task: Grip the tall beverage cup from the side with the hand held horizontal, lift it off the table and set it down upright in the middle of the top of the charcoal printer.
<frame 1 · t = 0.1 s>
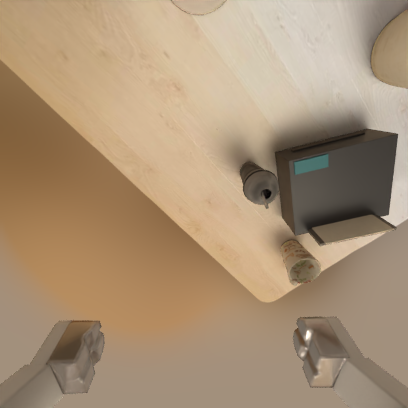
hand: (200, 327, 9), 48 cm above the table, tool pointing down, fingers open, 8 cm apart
mug: (289, 253, 68), on the table
jug: (398, 50, 46), on the table
printer: (321, 177, 57), on the table
beverage cup: (248, 170, 56), on the table
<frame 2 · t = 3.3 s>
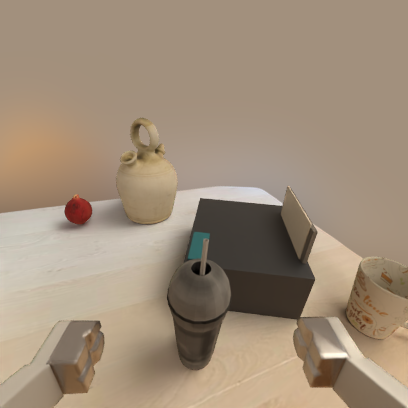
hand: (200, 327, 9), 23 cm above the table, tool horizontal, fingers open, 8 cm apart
mug: (380, 326, 36), on the table
jug: (149, 213, 62), on the table
red pomegranate: (82, 224, 56), on the table
printer: (237, 264, 46), on the table
beverage cup: (195, 352, 31), on the table
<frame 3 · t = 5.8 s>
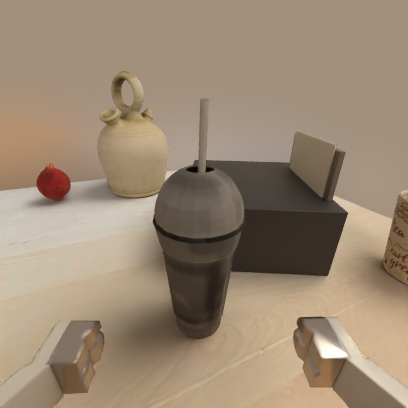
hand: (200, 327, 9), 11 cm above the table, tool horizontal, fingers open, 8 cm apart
jug: (138, 189, 55), on the table
red pomegranate: (59, 201, 48), on the table
printer: (243, 228, 39), on the table
beverage cup: (198, 318, 23), on the table
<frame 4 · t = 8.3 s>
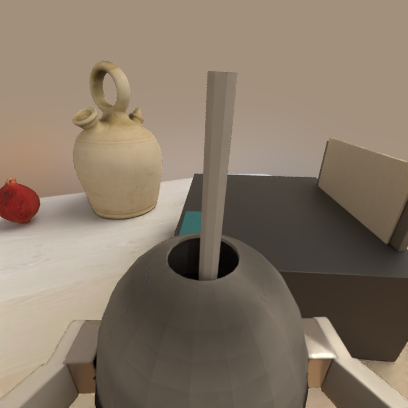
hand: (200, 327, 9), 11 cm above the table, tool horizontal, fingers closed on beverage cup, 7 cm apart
jug: (127, 206, 45), on the table
red pomegranate: (25, 224, 38), on the table
printer: (259, 267, 29), on the table
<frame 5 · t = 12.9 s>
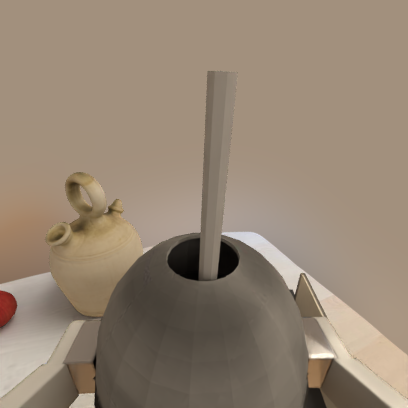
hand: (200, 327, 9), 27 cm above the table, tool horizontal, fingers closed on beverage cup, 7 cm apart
jug: (108, 292, 45), on the table
red pomegranate: (2, 326, 38), on the table
printer: (231, 402, 29), on the table
when the fingers open (20 cm above the table, at t = 17.3 s): beverage cup stays where it is, resting on printer.
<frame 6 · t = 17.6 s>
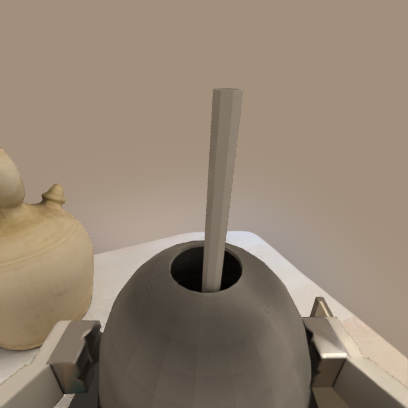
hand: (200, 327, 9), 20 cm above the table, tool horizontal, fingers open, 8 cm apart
jug: (48, 311, 33), on the table
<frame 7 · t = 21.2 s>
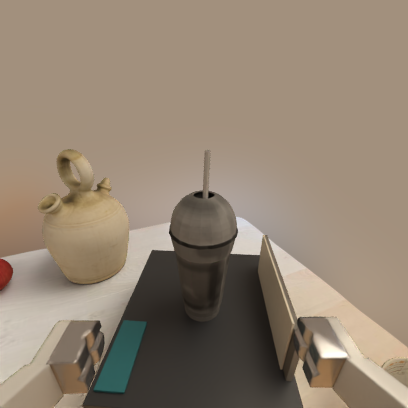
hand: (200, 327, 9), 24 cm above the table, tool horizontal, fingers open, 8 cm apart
jug: (97, 265, 49), on the table
printer: (200, 349, 32), on the table
beverage cup: (202, 307, 29), point 9 cm above the table, touching printer
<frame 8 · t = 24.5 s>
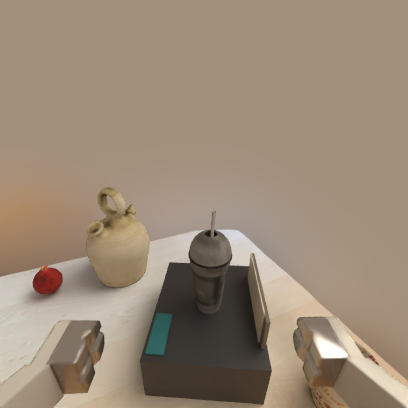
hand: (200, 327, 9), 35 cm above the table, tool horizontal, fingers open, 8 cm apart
mug: (345, 405, 35), on the table
jug: (123, 272, 62), on the table
red pomegranate: (52, 292, 55), on the table
printer: (206, 334, 46), on the table
beverage cup: (208, 304, 42), point 9 cm above the table, touching printer
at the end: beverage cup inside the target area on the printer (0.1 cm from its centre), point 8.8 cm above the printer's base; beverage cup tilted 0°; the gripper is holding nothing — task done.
